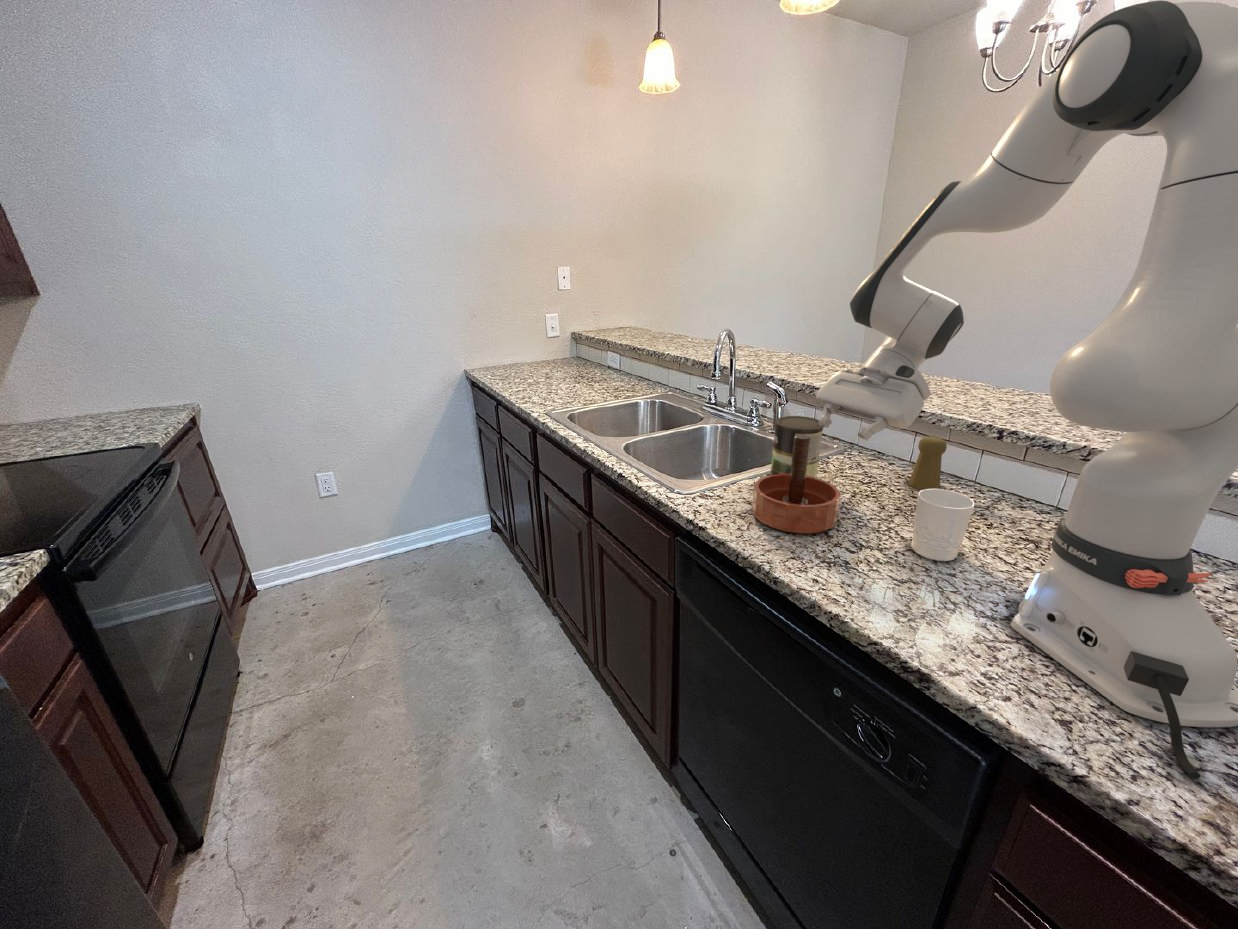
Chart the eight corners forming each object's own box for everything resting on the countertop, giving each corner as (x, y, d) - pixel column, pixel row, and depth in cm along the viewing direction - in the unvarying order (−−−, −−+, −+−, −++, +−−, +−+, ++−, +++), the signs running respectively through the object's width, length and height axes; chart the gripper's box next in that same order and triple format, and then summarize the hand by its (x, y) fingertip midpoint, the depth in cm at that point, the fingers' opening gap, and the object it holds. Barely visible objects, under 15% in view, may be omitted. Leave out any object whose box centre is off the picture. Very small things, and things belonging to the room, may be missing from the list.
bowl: (849, 536, 91) (853, 506, 88) (762, 536, 91) (765, 506, 89) (820, 499, 105) (823, 473, 103) (745, 499, 106) (747, 473, 104)
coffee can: (765, 485, 113) (771, 425, 107) (773, 469, 121) (779, 413, 116) (813, 492, 108) (821, 431, 103) (818, 476, 117) (826, 418, 112)
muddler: (809, 519, 96) (820, 440, 90) (784, 519, 96) (793, 440, 90) (802, 508, 100) (811, 432, 94) (778, 508, 100) (785, 432, 95)
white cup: (950, 569, 80) (964, 513, 76) (899, 550, 86) (910, 497, 82) (967, 552, 85) (982, 498, 81) (918, 535, 90) (929, 484, 87)
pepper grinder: (931, 480, 113) (941, 434, 109) (945, 491, 108) (956, 442, 104) (903, 479, 114) (912, 433, 110) (915, 490, 108) (925, 442, 104)
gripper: (834, 358, 104) (794, 409, 103) (929, 373, 87) (881, 435, 86) (846, 377, 107) (808, 427, 107) (940, 395, 90) (894, 455, 90)
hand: (841, 431), depth 96 cm, fingers open, 8 cm apart
